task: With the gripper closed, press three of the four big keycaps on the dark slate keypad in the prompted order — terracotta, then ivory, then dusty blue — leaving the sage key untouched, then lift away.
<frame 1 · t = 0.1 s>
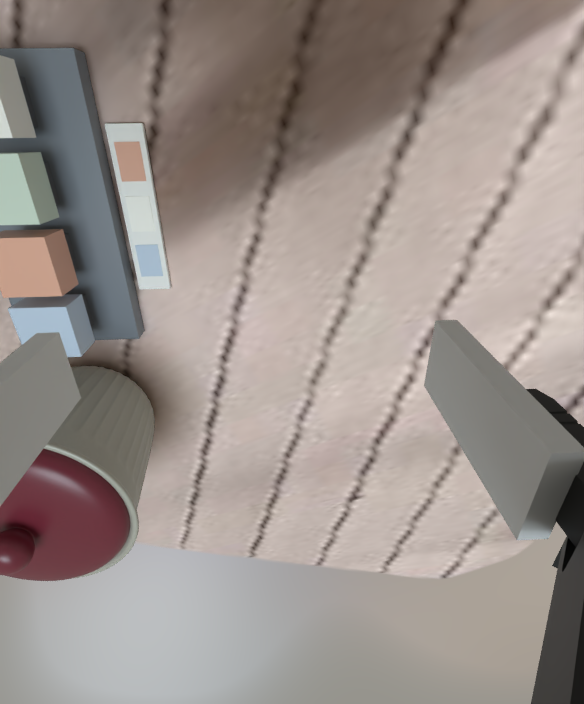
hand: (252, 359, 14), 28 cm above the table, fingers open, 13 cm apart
prompt card: (142, 213, 38), on the table
keypad board: (56, 215, 38), on the table
key terracotta: (33, 263, 34), point 6 cm above the table, slide at 0.0 cm
canister: (104, 403, 49), on the table
key blue: (54, 325, 37), point 6 cm above the table, slide at 0.0 cm
key sage: (8, 188, 31), point 6 cm above the table, slide at 0.0 cm
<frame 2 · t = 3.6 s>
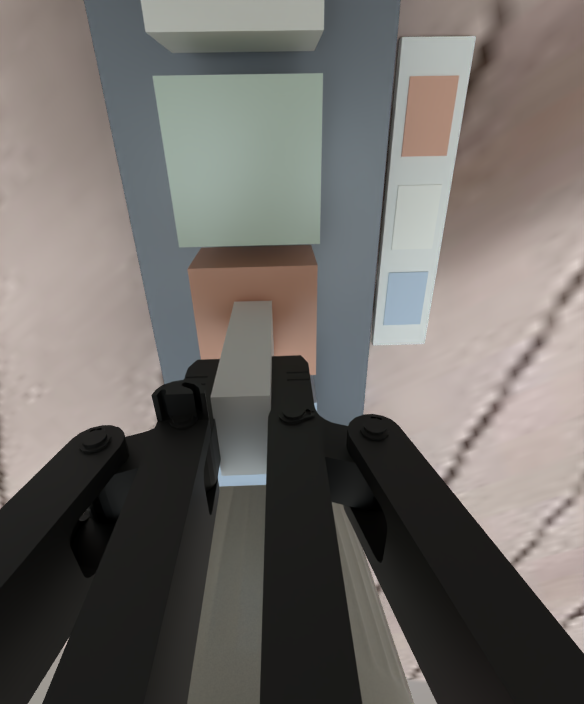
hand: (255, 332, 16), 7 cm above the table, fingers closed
prompt card: (412, 216, 21), on the table
keypad board: (258, 219, 21), on the table
key terracotta: (258, 310, 18), point 5 cm above the table, slide at 0.7 cm, touching gripper
canister: (262, 506, 32), on the table
key blue: (264, 425, 20), point 6 cm above the table, slide at 0.0 cm
key sage: (247, 164, 14), point 6 cm above the table, slide at 0.0 cm
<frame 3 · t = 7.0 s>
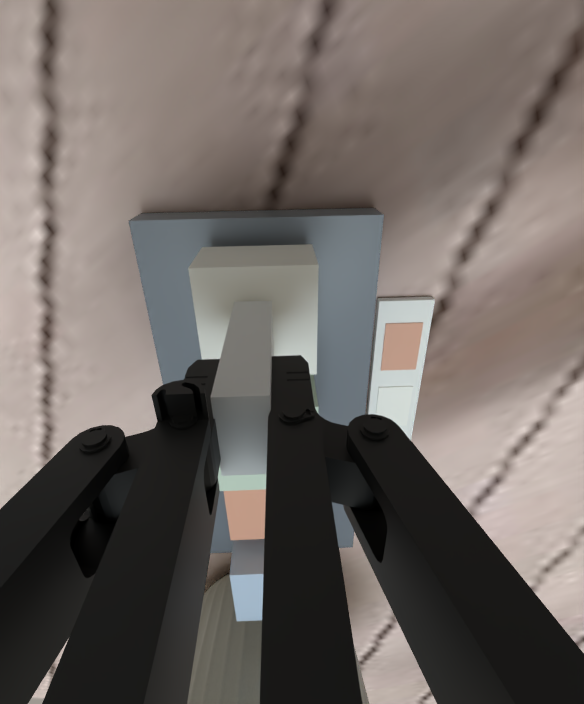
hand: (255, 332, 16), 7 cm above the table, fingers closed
key ivory: (258, 310, 18), point 5 cm above the table, slide at 1.1 cm, touching gripper
prompt card: (390, 401, 26), on the table
keypad board: (269, 405, 26), on the table
key terracotta: (270, 488, 24), point 4 cm above the table, slide at 1.5 cm
canister: (269, 594, 37), on the table
key blue: (274, 572, 26), point 6 cm above the table, slide at 0.0 cm
key sage: (265, 429, 20), point 6 cm above the table, slide at 0.0 cm
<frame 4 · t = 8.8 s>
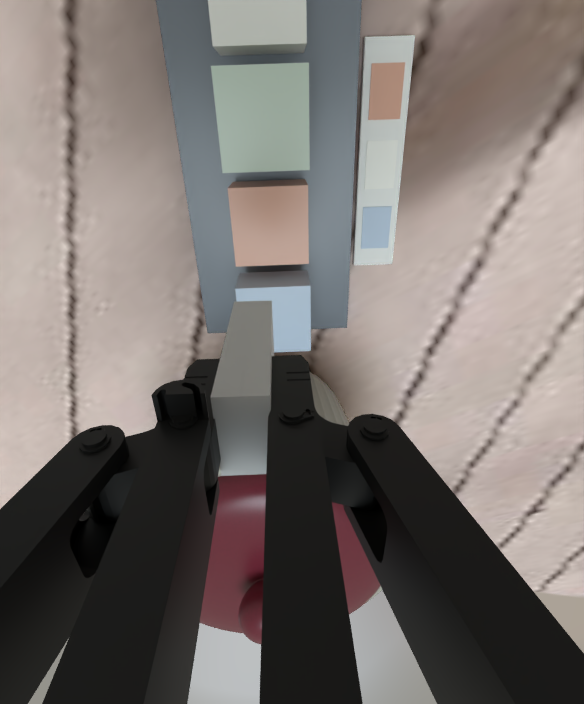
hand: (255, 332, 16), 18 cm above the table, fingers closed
prompt card: (378, 164, 29), on the table
keypad board: (269, 168, 29), on the table
key terracotta: (270, 222, 27), point 4 cm above the table, slide at 1.5 cm
canister: (272, 406, 41), on the table
key blue: (275, 311, 29), point 6 cm above the table, slide at 0.0 cm
key sage: (264, 121, 23), point 6 cm above the table, slide at 0.0 cm
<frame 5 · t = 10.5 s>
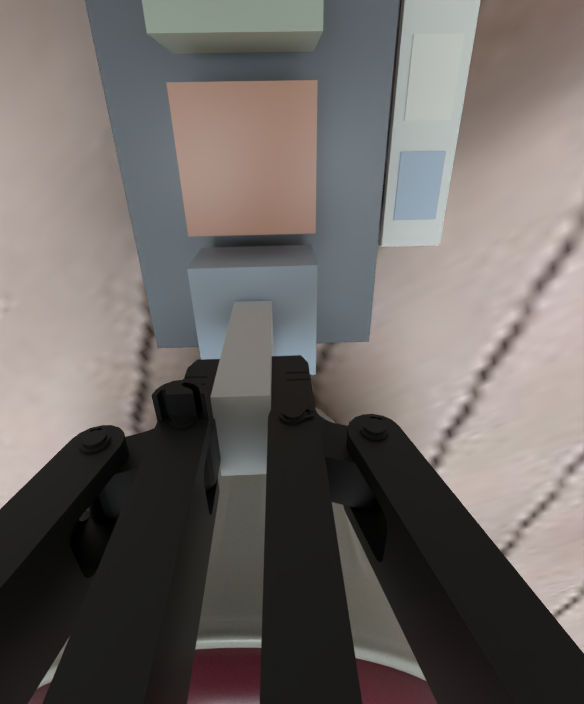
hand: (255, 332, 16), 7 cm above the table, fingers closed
prompt card: (428, 80, 18), on the table
keypad board: (251, 83, 18), on the table
key terracotta: (250, 161, 16), point 4 cm above the table, slide at 1.5 cm
canister: (258, 450, 29), on the table
key blue: (258, 310, 18), point 5 cm above the table, slide at 0.6 cm, touching gripper
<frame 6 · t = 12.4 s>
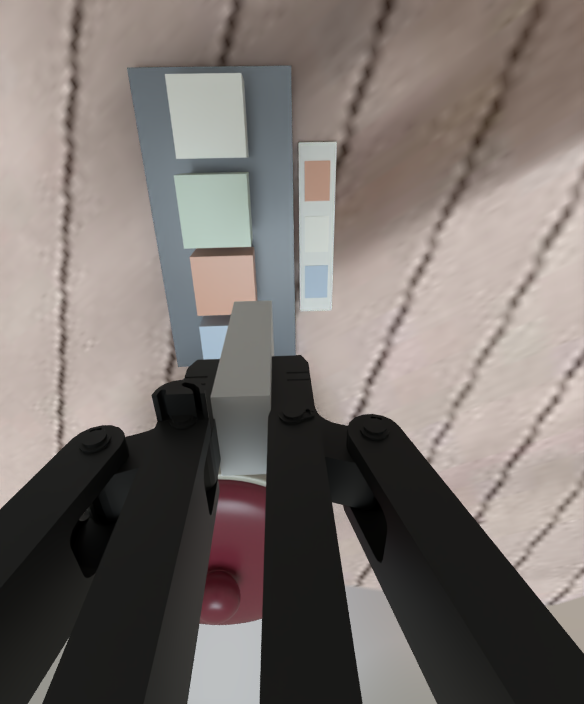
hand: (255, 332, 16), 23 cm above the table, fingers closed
key ivory: (210, 119, 28), point 4 cm above the table, slide at 1.6 cm
prompt card: (316, 233, 37), on the table
keypad board: (227, 235, 36), on the table
key terracotta: (226, 280, 34), point 4 cm above the table, slide at 1.5 cm
canister: (237, 429, 47), on the table
key blue: (232, 343, 36), point 4 cm above the table, slide at 1.5 cm
key sage: (216, 209, 30), point 6 cm above the table, slide at 0.0 cm
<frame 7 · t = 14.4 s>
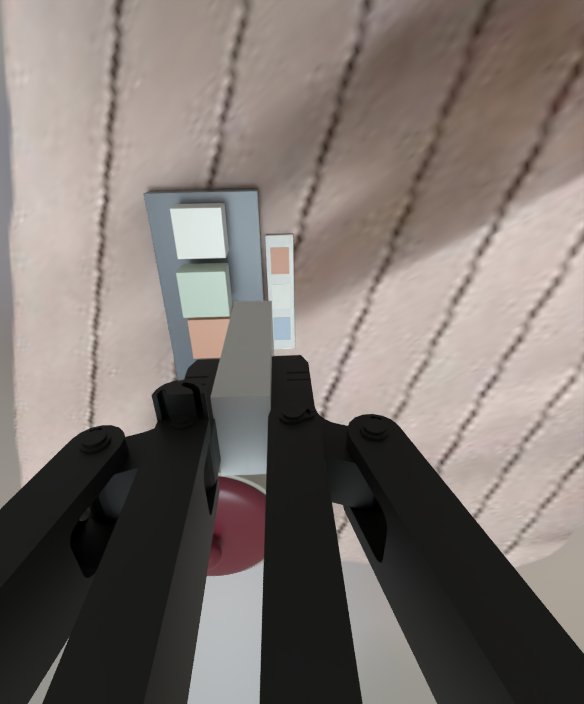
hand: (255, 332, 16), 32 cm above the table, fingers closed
key ivory: (201, 230, 41), point 4 cm above the table, slide at 1.6 cm
prompt card: (281, 294, 50), on the table
keypad board: (216, 296, 49), on the table
key terracotta: (214, 333, 47), point 4 cm above the table, slide at 1.5 cm
canister: (225, 434, 60), on the table
key blue: (219, 375, 50), point 4 cm above the table, slide at 1.5 cm
key sage: (205, 290, 43), point 6 cm above the table, slide at 0.0 cm
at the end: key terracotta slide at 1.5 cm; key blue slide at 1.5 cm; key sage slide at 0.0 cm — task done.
